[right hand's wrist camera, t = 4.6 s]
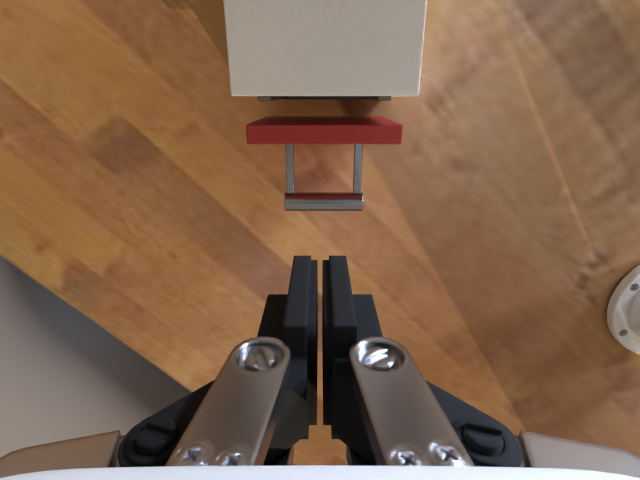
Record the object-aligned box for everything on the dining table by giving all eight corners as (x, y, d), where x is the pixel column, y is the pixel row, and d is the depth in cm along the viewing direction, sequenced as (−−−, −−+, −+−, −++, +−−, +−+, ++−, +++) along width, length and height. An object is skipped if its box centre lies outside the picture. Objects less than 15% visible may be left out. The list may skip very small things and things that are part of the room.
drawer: (376, 197, 35) (394, 233, 26) (270, 197, 35) (253, 232, 26) (392, -85, 28) (425, -171, 19) (257, -84, 28) (225, -170, 19)
